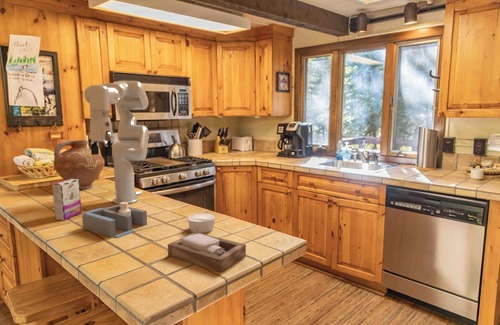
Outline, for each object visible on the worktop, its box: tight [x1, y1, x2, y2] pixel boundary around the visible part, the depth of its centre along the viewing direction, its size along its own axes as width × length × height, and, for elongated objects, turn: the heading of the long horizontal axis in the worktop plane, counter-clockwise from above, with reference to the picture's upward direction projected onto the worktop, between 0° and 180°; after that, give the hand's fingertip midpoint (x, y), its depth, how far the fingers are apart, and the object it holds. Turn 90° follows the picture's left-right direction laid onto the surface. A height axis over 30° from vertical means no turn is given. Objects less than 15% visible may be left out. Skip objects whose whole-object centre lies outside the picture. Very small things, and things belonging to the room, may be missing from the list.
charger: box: [181, 233, 226, 256], centre depth 112 cm, size 5×9×15 cm
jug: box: [53, 139, 105, 190], centre depth 206 cm, size 28×28×30 cm
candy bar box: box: [51, 179, 83, 221], centre depth 151 cm, size 11×5×16 cm, turn 168°
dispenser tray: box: [167, 232, 247, 273], centre depth 112 cm, size 14×22×4 cm, turn 59°
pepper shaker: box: [118, 202, 131, 215], centre depth 142 cm, size 4×4×10 cm
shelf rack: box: [81, 204, 148, 239], centre depth 139 cm, size 18×20×7 cm
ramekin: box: [187, 212, 216, 234], centre depth 137 cm, size 11×11×5 cm
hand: (101, 155), depth 144 cm, fingers open, 9 cm apart
